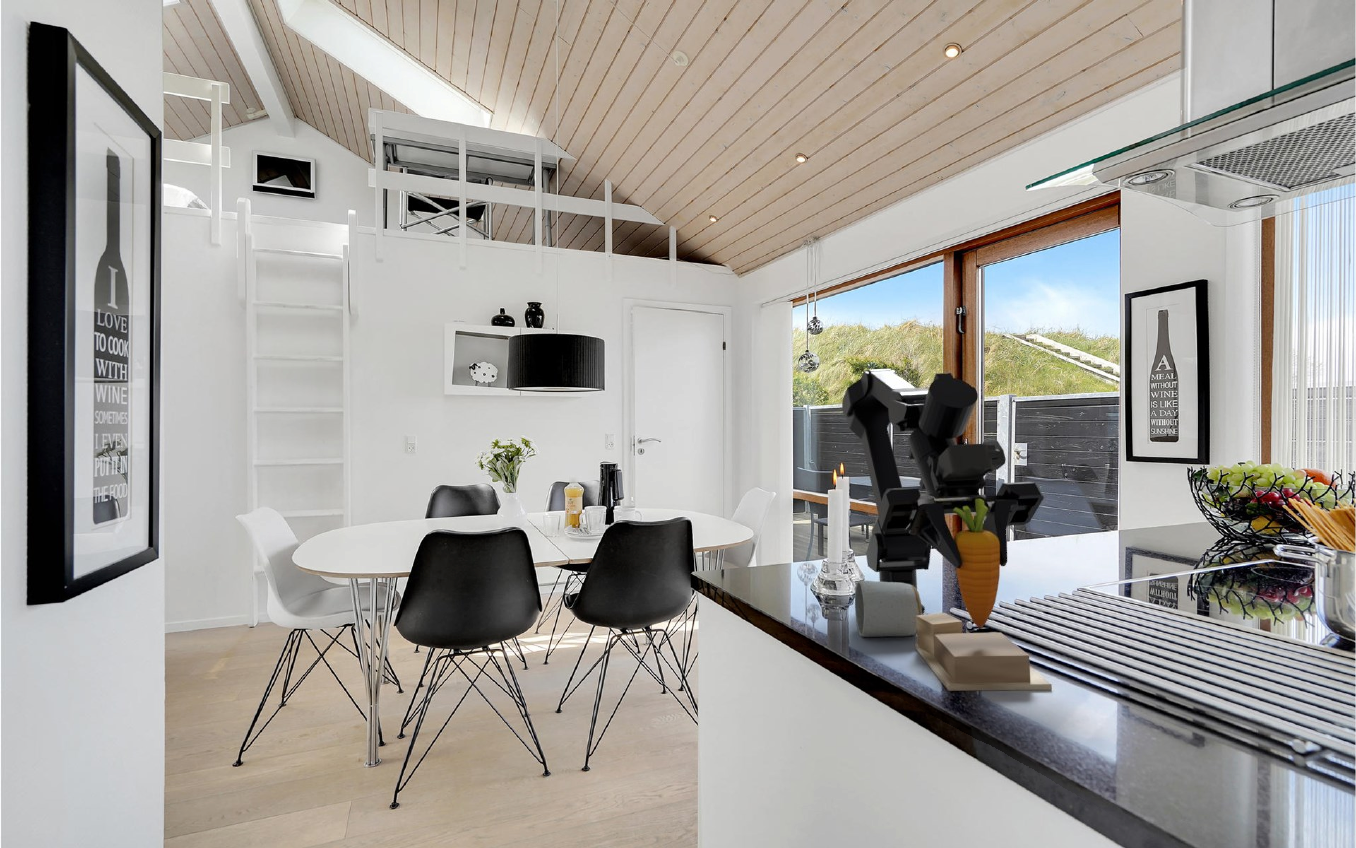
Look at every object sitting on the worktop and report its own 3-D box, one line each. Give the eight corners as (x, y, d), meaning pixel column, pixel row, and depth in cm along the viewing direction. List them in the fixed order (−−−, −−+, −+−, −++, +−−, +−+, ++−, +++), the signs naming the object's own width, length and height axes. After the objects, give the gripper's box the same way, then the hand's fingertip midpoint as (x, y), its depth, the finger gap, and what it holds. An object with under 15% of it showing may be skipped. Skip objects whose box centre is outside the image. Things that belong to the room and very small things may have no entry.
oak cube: (917, 646, 87) (916, 615, 87) (945, 643, 87) (944, 612, 87) (934, 656, 83) (932, 624, 83) (963, 653, 83) (962, 621, 83)
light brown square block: (934, 658, 82) (933, 633, 82) (1002, 657, 81) (1000, 632, 81) (955, 683, 74) (954, 656, 74) (1030, 682, 73) (1029, 655, 73)
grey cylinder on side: (926, 642, 90) (923, 585, 90) (864, 644, 90) (862, 587, 90) (905, 620, 100) (902, 569, 100) (850, 622, 101) (847, 571, 101)
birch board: (915, 648, 88) (914, 643, 88) (1001, 646, 87) (1001, 642, 87) (948, 690, 74) (948, 685, 74) (1051, 689, 73) (1051, 684, 73)
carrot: (974, 636, 75) (969, 504, 75) (947, 623, 80) (943, 499, 80) (1012, 631, 76) (1007, 500, 76) (984, 618, 81) (979, 496, 81)
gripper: (880, 423, 81) (917, 528, 71) (1032, 416, 81) (1092, 520, 71) (865, 481, 89) (895, 583, 79) (1003, 474, 89) (1052, 575, 79)
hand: (982, 565), depth 76 cm, fingers closed on carrot, 5 cm apart
